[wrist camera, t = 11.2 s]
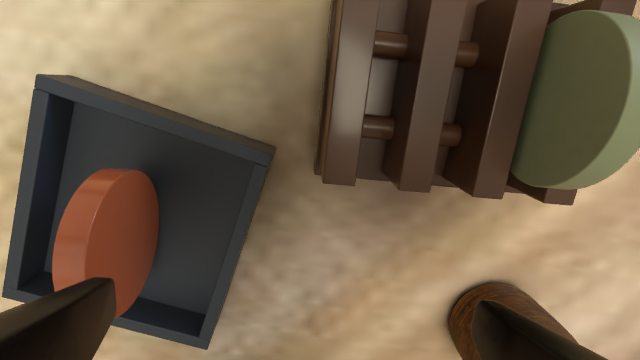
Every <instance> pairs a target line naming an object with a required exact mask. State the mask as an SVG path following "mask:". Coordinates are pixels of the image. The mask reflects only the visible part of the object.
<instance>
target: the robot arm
mask: <svg viewBox="0 0 640 360" xmlns="http://www.w3.org/2000/svg"><path fill="white" fill-rule="evenodd" d="M115 314H116V292H115V282H114V280H113V279H112V278H106V277H92V278H90V279H87V280H85V281H82V282H79V283H77V284H74V285H72V286H69V287H66V288H64V289H61V290H59V291H56V292H53V293H51V294H48V295H46V296H43V297H40V298H38V299H35V300H33V301H30V302H27V303H25V304H22V305H20V306H17V307H14V308H12V309H9V310H7V311H4V312H1V313H0V360H92V359H93V357H94V355H95V353H96V351H97V350H98V348H99V346H100V344H101V342H102V340H103V338H104V336H105V335H106V333H107V331H108V329H109V327H110V325H111V323H112V322H113V320H114V317H115ZM471 336H472V339H473V342H474V344H475V347H476V349H477V352H478V354H479V357H480V359H481V360H608V359H606V358H604V357H602V356H600V355H598V354H596V353H595V352H593V351H591V350H589V349H587V348H585V347H583V346H581V345H579V344H577V343H576V342H574V341H572V340H570V339H568V338H566V337H564V336H562V335H560V334H558V333H557V332H555V331H553V330H551V329H549V328H547V327H545V326H543V325H541V324H539V323H538V322H536V321H534V320H532V319H530V318H528V317H526V316H524V315H522V314H520V313H519V312H517V311H515V310H513V309H511V308H509V307H507V306H505V305H503V304H501V303H500V302H498V301H495V300H479V301H478V302H477V304H476V307H475V311H474V315H473V319H472V324H471Z"/></svg>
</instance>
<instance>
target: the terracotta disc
mask: <svg viewBox="0 0 640 360" xmlns="http://www.w3.org/2000/svg"><path fill="white" fill-rule="evenodd" d="M158 233H159V205H158V198H157V194H156V190H155V188H154V185H153V183H152V181H151V180H150V178H149V177H148V176H147V175H146V174H145V173H143V172H141V171H139V170H132V169H121V168H105V169H101V170H99V171H97V172H95V173H93V174H92V175H91V176H89V177H88V178H87V179H86V180H85V181H84V182H83V183H82V184H81V185H80V187H79V188H78V189H77V190H76V192H75V193H74V195H73V196H72V198H71V199H70V201H69V203H68V205H67V207H66V209H65V211H64V214H63V216H62V219H61V221H60V225H59V228H58V231H57V235H56V239H55V243H54V250H53V259H52V277H53V285H54V290H55V292H56V291H59V290H61V289H64V288H66V287H69V286H72V285H74V284H77V283H79V282H82V281H85V280H87V279H90V278H92V277H106V278H112V279H113V280H114V282H115V292H116V314H115V317H114V319H115V318H117V317H119V316H121V315H122V314H123V313H125V312H126V311H127V310H128V309H129V308H130V306H131V305H132V304H133V303H134V301H135V300H136V299H137V297H138V295H139V294H140V292H141V290H142V288H143V286H144V284H145V282H146V280H147V277H148V275H149V272H150V269H151V266H152V263H153V259H154V256H155V251H156V247H157V241H158Z"/></svg>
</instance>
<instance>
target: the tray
mask: <svg viewBox="0 0 640 360" xmlns="http://www.w3.org/2000/svg"><path fill="white" fill-rule="evenodd" d="M34 87H35V88H36V89H34V90H33V97H32V103H31V110H30V116H29V123H28V129H27V136H26V143H25V149H24V156H23V162H22V169H21V175H20V182H19V189H18V195H17V202H16V208H15V215H14V221H13V228H12V234H11V241H10V248H9V254H8V261H7V267H6V274H5V280H4V287H3V293H2V297H4V298H8V299H12V300H16V301H20V302H24V303H27V302H30V301H33V300H35V299H38V298H40V297H43V296H46V295H48V294H51V293H53V292H55V290H54V285H53V277H52V259H53V250H54V243H55V239H56V235H57V231H58V228H59V225H60V221H61V219H62V216H63V214H64V211H65V209H66V207H67V205H68V203H69V201H70V199H71V198H72V196H73V195H74V193H75V192H76V190H77V189H78V188H79V187H80V185H81V184H82V183H83V182H84V181H85V180H86V179H87V178H88V177H89V176H91V175H92V174H93V173H95V172H97V171H99V170H101V169H105V168H121V169H132V170H139V171H141V172H143V173H145V174H146V175H147V176H148V177H149V178H150V180H151V181H152V183H153V185H154V188H155V190H156V194H157V198H158V205H159V233H158V241H157V247H156V251H155V256H154V259H153V263H152V266H151V269H150V272H149V275H148V277H147V280H146V282H145V284H144V286H143V288H142V290H141V292H140V294H139V295H138V297H137V299H136V300H135V301H134V303H133V304H132V305H131V306H130V308H129V309H128V310H127V311H126V312H125V313H123V314H122V315H121V316H119V317H117V318H115V319H114V320H113V322H112V323H111V325H113V326H116V327H120V328H124V329H128V330H132V331H136V332H140V333H144V334H147V335H151V336H155V337H159V338H163V339H167V340H171V341H174V342H178V343H182V344H186V345H190V346H194V347H198V348H202V349H205V350H207V349H208V346H209V343H210V341H211V338H212V335H213V333H214V330H215V327H216V325H217V322H218V319H219V316H220V313H221V310H222V307H223V304H224V301H225V298H226V295H227V292H228V289H229V286H230V283H231V280H232V277H233V274H234V271H235V268H236V265H237V262H238V259H239V256H240V253H241V250H242V247H243V244H244V241H245V238H246V235H247V232H248V229H249V226H250V223H251V220H252V217H253V214H254V211H255V208H256V205H257V202H258V199H259V196H260V193H261V190H262V187H263V184H264V181H265V178H266V175H267V172H268V169H269V166H270V163H271V160H272V157H273V154H274V151H275V148H276V147H274V146H271V145H268V144H266V143H263V142H260V141H257V140H254V139H251V138H248V137H245V136H243V135H240V134H237V133H234V132H231V131H228V130H225V129H222V128H220V127H217V126H214V125H211V124H208V123H205V122H202V121H199V120H197V119H194V118H191V117H188V116H185V115H182V114H179V113H176V112H174V111H171V110H168V109H165V108H162V107H159V106H156V105H153V104H151V103H148V102H145V101H142V100H139V99H136V98H133V97H130V96H128V95H125V94H122V93H119V92H116V91H113V90H110V89H108V88H105V87H102V86H99V85H96V84H93V83H90V82H87V81H85V80H82V79H79V78H76V77H73V76H68V75H66V76H64V75H46V74H37V75H36V80H35V86H34Z"/></svg>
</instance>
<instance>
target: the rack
mask: <svg viewBox="0 0 640 360" xmlns="http://www.w3.org/2000/svg"><path fill="white" fill-rule="evenodd" d="M636 1H637V0H584V1H581V2H578V3H575V4H571V5H567V4H560V3H553V0H331V9H330V19H329V28H328V38H327V48H326V57H325V67H324V76H323V86H322V96H321V105H320V115H319V125H318V134H317V144H316V153H315V163H314V173H315V175H321V178H322V182H323V183H324V184H336V185H347V186H355V182H356V178H357V179H368V180H379V181H390V182H392V183H393V184H394V185H395V187H396V188H397V189H398V190H403V191H414V192H425V193H429V192H430V188H431V185H434V186H445V187H456V188H460V189H461V190H463V191H464V192H466V193H467V194H469V195H471V196H472V197H481V198H492V199H502V198H503V194H504V192H511V193H521V194H526V195H528V196H530V197H532V198H534V199H536V200H538V201H541V202H543V203H548V204H560V205H573V202H574V199H575V196H576V193H577V189H572V190H563V189H553V188H542V187H534V186H531V185H528V184H526V183H524V182H522V181H520V180H519V179H518V178H517V177H515V176H514V175H513V174H512V172H511V171H510V167H511V163H512V159H513V155H514V151H515V147H516V144H517V140H518V136H519V132H520V128H521V124H522V120H523V116H524V112H525V108H526V104H527V101H528V97H529V93H530V89H531V85H532V81H533V77H534V73H535V69H536V65H537V61H538V58H539V54H540V50H541V46H542V42H543V38H544V34H545V30H546V26H547V25H549V24H550V23H552V22H553V21H555V20H556V19H558V18H560V17H562V16H564V15H567V14H569V13H572V12H575V11H581V10H597V11H605V12H612V13H620V14H625V15H630V16H632V14H633V10H634V7H635V4H636Z"/></svg>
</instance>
